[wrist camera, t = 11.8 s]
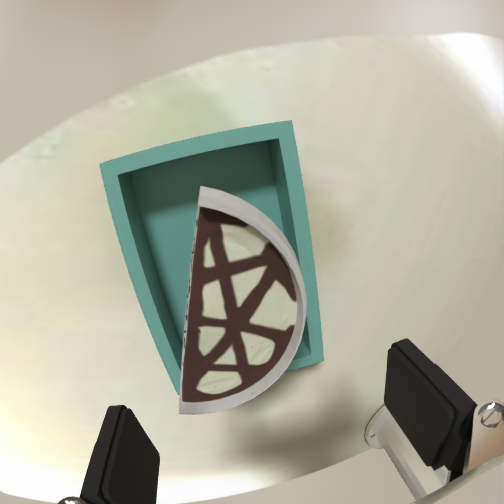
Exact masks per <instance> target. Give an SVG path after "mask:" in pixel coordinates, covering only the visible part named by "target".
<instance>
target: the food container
mask: <svg viewBox="0 0 504 504" xmlns="http://www.w3.org/2000/svg"><path fill="white" fill-rule="evenodd" d="M306 312H307V298H306V292H305V286H304V280H303V276H302V272H301V268H300V266H299V263H298V260H297V258H296V255H295V252H294V251H293V249H292V247H291V245H290V244H289V242H288V240H287V238H286V237H285V235H284V234H283V233H282V232H281V231H280V229H279V228H278V227H277V226H276V225H275V224H274V222H273V221H272V220H270V219H269V218H268V217H267V216H266V215H265V214H263V213H262V212H261V211H260V210H259V209H257V208H256V207H254V206H252V205H251V204H249V203H247V202H246V201H244V200H242V199H241V198H239V197H236V196H234V195H231V194H229V193H226V192H224V191H221V190H217V189H213V188H208V187H204V186H200V193H199V200H198V208H197V215H196V223H195V230H194V238H193V246H192V255H191V263H190V272H189V282H188V292H187V302H186V313H185V324H184V336H183V350H182V364H181V381H180V400H179V414H192V415H194V414H206V413H213V412H218V411H223V410H226V409H229V408H232V407H235V406H238V405H241V404H243V403H245V402H247V401H249V400H251V399H253V398H255V397H256V396H258V395H259V394H260V393H262V392H263V391H265V390H266V389H268V388H269V387H270V386H271V385H272V384H273V383H274V382H275V381H276V380H278V379H279V377H280V376H281V375H282V374H283V372H284V371H285V370H286V369H287V368H288V366H289V365H290V363H291V361H292V359H293V358H294V356H295V354H296V352H297V350H298V347H299V344H300V342H301V339H302V335H303V331H304V326H305V321H306Z"/></svg>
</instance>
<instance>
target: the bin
mask: <svg viewBox="0 0 504 504" xmlns="http://www.w3.org/2000/svg"><path fill="white" fill-rule="evenodd" d="M100 169H101V173H102V178H103V182H104V187H105V191H106V195H107V199H108V203H109V207H110V211H111V214H112V218H113V222H114V225H115V229H116V232H117V236H118V239H119V243H120V246H121V249H122V253H123V256H124V259H125V262H126V265H127V268H128V271H129V274H130V277H131V280H132V283H133V286H134V289H135V292H136V295H137V298H138V300H139V303H140V306H141V309H142V311H143V314H144V317H145V319H146V322H147V324H148V327H149V329H150V332H151V334H152V337H153V339H154V342H155V344H156V347H157V349H158V352H159V354H160V356H161V359H162V361H163V363H164V365H165V368H166V370H167V372H168V374H169V377H170V379H171V381H172V383H173V385H174V387H175V390H176V392H177V394H178V395H180V381H181V364H182V350H183V336H184V324H185V313H186V302H187V292H188V282H189V272H190V263H191V255H192V246H193V238H194V230H195V223H196V215H197V208H198V200H199V193H200V186H204V187H208V188H213V189H217V190H221V191H224V192H226V193H229V194H231V195H234V196H236V197H239V198H241V199H242V200H244V201H246V202H247V203H249V204H251V205H252V206H254V207H256V208H257V209H259V210H260V211H261V212H262V213H263V214H265V215H266V216H267V217H268V218H269V219H270V220H272V221H273V222H274V224H275V225H276V226H277V227H278V228H279V229H280V231H281V232H282V233H283V234H284V235H285V237H286V238H287V240H288V242H289V244H290V245H291V247H292V249H293V251H294V252H295V255H296V258H297V260H298V263H299V266H300V268H301V272H302V276H303V280H304V286H305V292H306V298H307V312H306V321H305V326H304V331H303V335H302V339H301V342H300V344H299V347H298V350H297V352H296V354H295V356H294V358H293V359H292V361H291V363H290V365H289V366H288V368H287V369H286V370H285V371H284V372H288V371H291V370H295V369H298V368H302V367H305V366H309V365H312V364H315V363H319V362H322V361H324V356H323V343H322V332H321V321H320V311H319V301H318V292H317V283H316V274H315V266H314V258H313V250H312V242H311V235H310V228H309V220H308V214H307V207H306V200H305V194H304V188H303V181H302V175H301V169H300V164H299V158H298V152H297V147H296V141H295V136H294V130H293V125H292V120H290V121H282V122H275V123H269V124H262V125H256V126H250V127H244V128H239V129H233V130H228V131H223V132H218V133H213V134H208V135H203V136H199V137H194V138H190V139H186V140H182V141H177V142H173V143H169V144H165V145H162V146H158V147H154V148H150V149H147V150H143V151H140V152H136V153H133V154H129V155H126V156H123V157H119V158H116V159H113V160H110V161H107V162H104V163H101V164H100ZM284 372H283V373H284Z"/></svg>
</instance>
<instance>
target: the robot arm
mask: <svg viewBox="0 0 504 504" xmlns="http://www.w3.org/2000/svg"><path fill="white" fill-rule="evenodd" d="M384 403H385V405H384V406H383V407H382V408H381V409H380V410H379V411H378V412H377V413H376V414H375V415H374V417H373V418H372V419H371V421H370V422H369V424H368V426H367V429H366V432H365V438H366V440H367V442H368V444H369V445H370V446H371V447H373V448H379V449H381V448H384V449H385V450H386V452H387V453H388V455H389V457H390V458H391V460H392V462H393V463H394V465H395V467H396V468H397V470H398V472H399V473H400V475H401V477H402V478H403V480H404V482H405V483H406V485H407V487H408V488H409V490H410V492H411V493H412V495H413V497H414V498H415V500H416V501H415V502H413V503H411V504H504V402H503V401H500V400H497V399H489V400H485V401H483V402H481V403H480V404H479V405H477V404H476V403H475V402H474V401H473V400H472V399H471V398H470V397H469V396H468V395H467V394H466V393H465V392H464V391H463V390H462V389H461V388H460V387H459V386H458V385H457V384H456V383H455V382H454V381H453V380H452V379H451V378H450V377H449V376H448V375H447V374H446V373H445V372H444V371H443V370H442V369H441V368H440V367H439V366H438V365H436V364H434V363H433V362H432V361H431V360H430V359H429V358H428V357H427V356H426V355H425V354H424V353H422V352H421V351H420V350H419V349H418V348H417V347H416V346H415V345H414V344H413V343H412V342H411V341H410V340H409V339H403V340H400V341H398V342H395V343H393V344H392V346H391V348H390V349H389V350H388V358H387V372H386V384H385V394H384ZM159 465H160V456H159V453H158V451H157V449H156V448H155V446H154V445H153V443H152V442H151V440H150V439H149V437H148V436H147V434H146V433H145V431H144V430H143V428H142V426H141V425H140V423H139V422H138V420H137V418H136V417H135V415H134V413H133V412H132V410H131V409H130V408H128V409H127V407H126V406H125V405H117V406H109V407H108V409H107V412H106V415H105V418H104V421H103V424H102V427H101V430H100V433H99V436H98V439H97V442H96V443H95V446H94V449H93V452H92V455H91V459H90V462H89V465H88V469H87V472H86V476H85V479H84V483H83V487H82V490H81V494H80V498H78V497H67V498H64V499H62V500H61V501H59V503H58V504H156V497H157V485H158V474H159Z"/></svg>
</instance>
